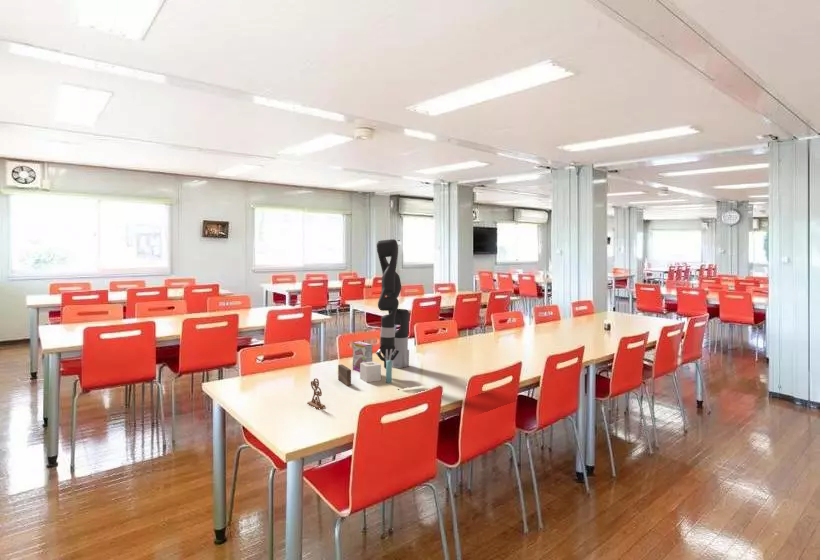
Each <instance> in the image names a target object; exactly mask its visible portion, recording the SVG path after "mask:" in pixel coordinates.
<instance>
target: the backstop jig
mask: <svg viewBox="0 0 820 560" xmlns="http://www.w3.org/2000/svg"><path fill="white" fill-rule="evenodd" d="M337 369H338V371H337V375H338V376H337V378H338V379H337V380H338V381H339V382H340V383H342V384H343V385H345V387H352V369H351V368H348V367H347V366H346V365H344V364H342V363H340V364H338V366H337Z"/></svg>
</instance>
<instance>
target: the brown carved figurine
mask: <svg viewBox="0 0 820 560" xmlns="http://www.w3.org/2000/svg"><path fill="white" fill-rule="evenodd" d="M319 386H320V380H319V378H313V380H311V381H310V387H311V389H312V390H313V395H312V397H311V398H312V399H311V401H307V402H306V405H307V404H309V405H311V406H313V407H315V408H317V409H318V410H320V409H319V408H322V409H324V408H323V407H325V408H326V405H325V404H323V403H321V399H320V397H322V396H323V394H322V393H323V392H322V389H321V387H319ZM309 405H308V406H309ZM311 406H310V407H311ZM313 407H312V408H313ZM315 408H314V409H315ZM317 409H316V410H317Z"/></svg>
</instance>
